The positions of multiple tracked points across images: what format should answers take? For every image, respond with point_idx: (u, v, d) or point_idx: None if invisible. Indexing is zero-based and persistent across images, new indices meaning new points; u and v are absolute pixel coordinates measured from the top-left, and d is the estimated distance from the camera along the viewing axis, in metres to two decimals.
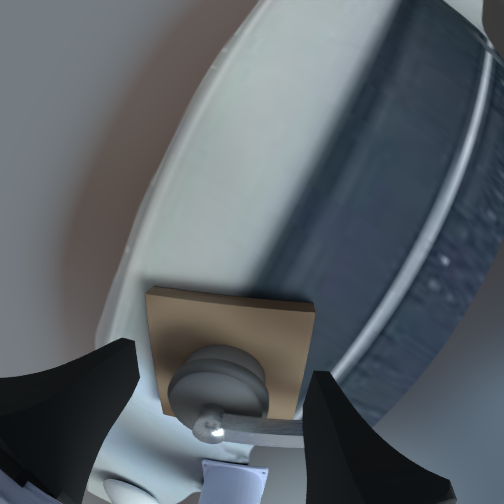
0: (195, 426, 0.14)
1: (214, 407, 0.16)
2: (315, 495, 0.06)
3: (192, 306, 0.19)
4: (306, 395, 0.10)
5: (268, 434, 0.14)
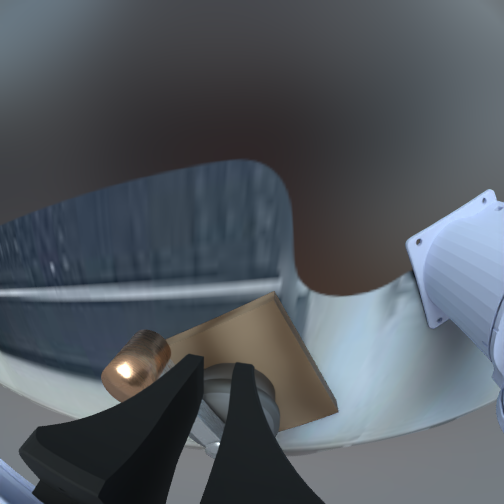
0: None
1: None
2: None
3: None
4: None
5: None
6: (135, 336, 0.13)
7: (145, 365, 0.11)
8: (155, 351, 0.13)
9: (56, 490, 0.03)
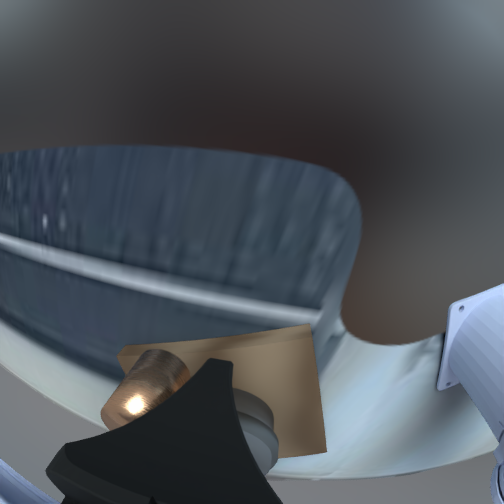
0: None
1: None
2: None
3: None
4: None
5: None
6: (150, 357, 0.10)
7: None
8: (177, 385, 0.09)
9: None
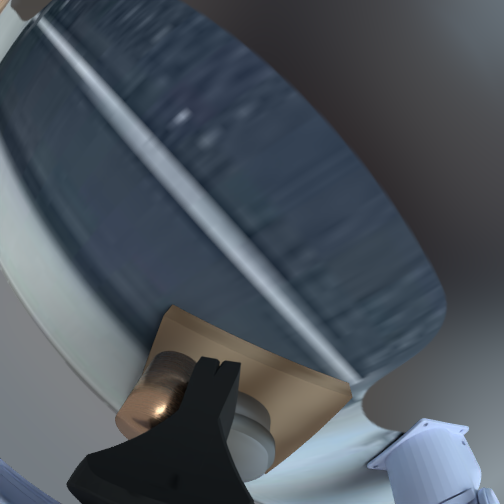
0: None
1: None
2: None
3: None
4: None
5: None
6: (167, 360, 0.10)
7: None
8: None
9: None
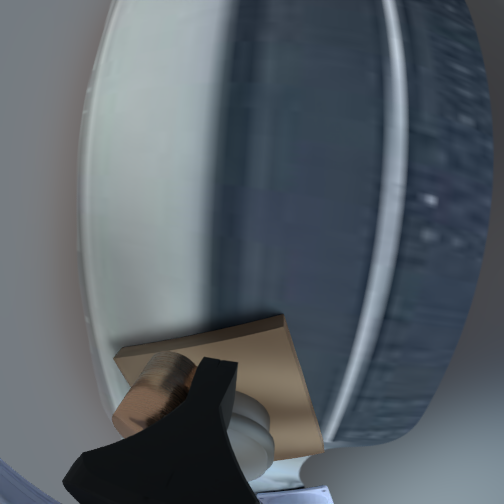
0: None
1: None
2: None
3: None
4: None
5: None
6: (164, 360, 0.10)
7: None
8: None
9: None
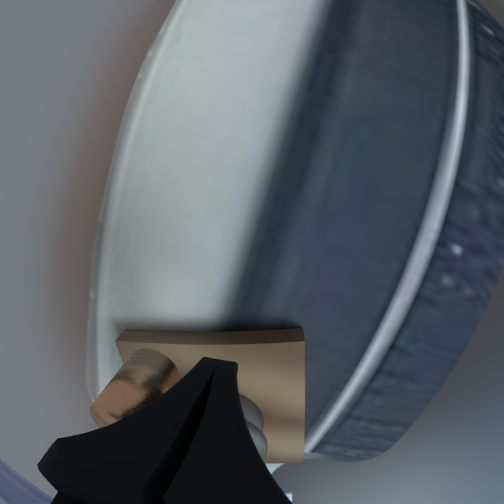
0: None
1: None
2: None
3: (164, 349, 0.16)
4: None
5: None
6: (140, 357, 0.10)
7: None
8: (165, 384, 0.09)
9: (76, 502, 0.03)
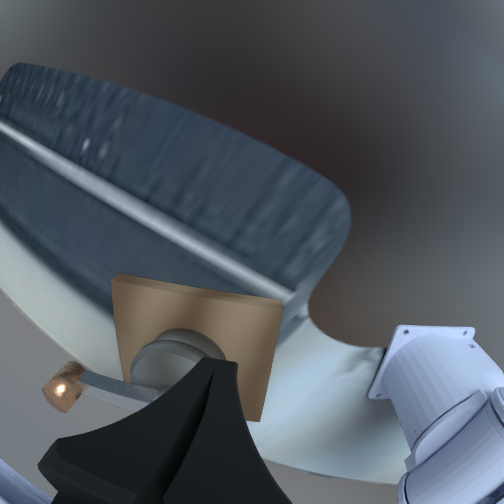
0: None
1: None
2: None
3: (125, 366, 0.22)
4: None
5: (117, 406, 0.15)
6: None
7: (54, 378, 0.14)
8: (63, 369, 0.15)
9: (76, 502, 0.03)
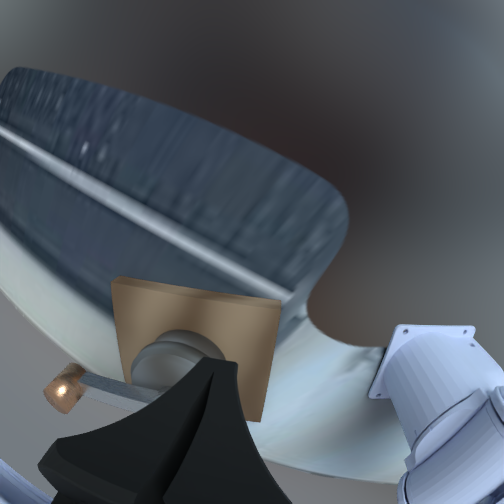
0: None
1: None
2: None
3: (126, 367, 0.22)
4: None
5: (118, 407, 0.16)
6: None
7: (55, 380, 0.14)
8: (64, 371, 0.16)
9: (76, 502, 0.03)
